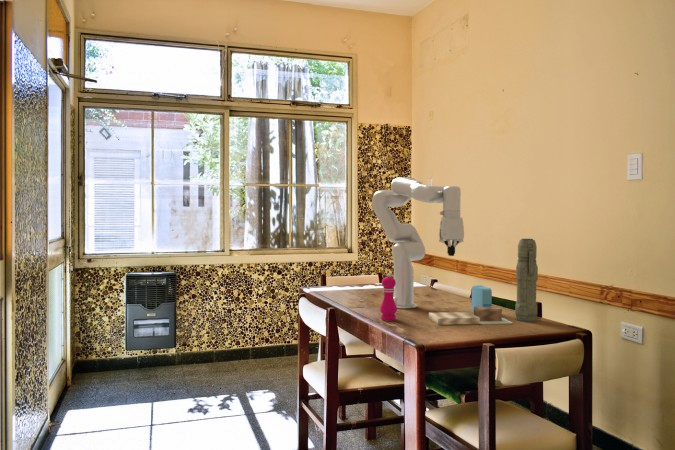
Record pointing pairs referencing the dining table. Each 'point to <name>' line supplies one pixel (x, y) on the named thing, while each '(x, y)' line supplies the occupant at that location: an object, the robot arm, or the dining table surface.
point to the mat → (497, 322)
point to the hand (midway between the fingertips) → (451, 255)
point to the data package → (481, 297)
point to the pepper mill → (388, 299)
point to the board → (454, 318)
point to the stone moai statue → (526, 281)
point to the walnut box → (488, 313)
